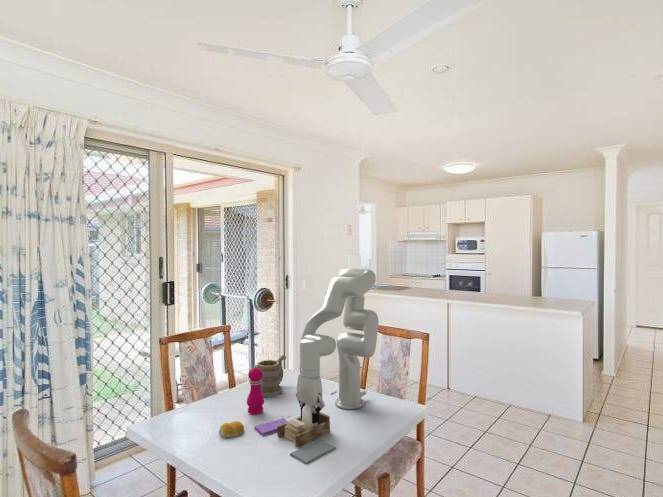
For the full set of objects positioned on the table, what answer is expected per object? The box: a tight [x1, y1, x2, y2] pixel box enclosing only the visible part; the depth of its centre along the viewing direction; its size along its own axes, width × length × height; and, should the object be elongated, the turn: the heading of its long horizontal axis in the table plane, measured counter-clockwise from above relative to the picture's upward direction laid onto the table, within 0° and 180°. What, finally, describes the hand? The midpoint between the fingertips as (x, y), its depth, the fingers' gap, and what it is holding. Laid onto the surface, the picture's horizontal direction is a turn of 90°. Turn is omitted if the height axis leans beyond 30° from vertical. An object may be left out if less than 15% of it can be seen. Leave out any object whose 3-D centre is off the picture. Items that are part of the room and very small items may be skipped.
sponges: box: [254, 417, 288, 437], centre depth 153 cm, size 7×13×2 cm, turn 124°
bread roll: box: [218, 420, 245, 439], centre depth 149 cm, size 8×9×4 cm
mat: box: [289, 438, 337, 465], centre depth 136 cm, size 14×8×1 cm, turn 136°
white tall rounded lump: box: [302, 404, 318, 430], centre depth 150 cm, size 6×12×6 cm
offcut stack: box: [284, 418, 306, 443], centre depth 145 cm, size 5×8×6 cm, turn 46°
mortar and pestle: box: [256, 354, 287, 398], centre depth 193 cm, size 20×13×15 cm, turn 147°
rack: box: [276, 411, 331, 448], centre depth 148 cm, size 16×11×6 cm
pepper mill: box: [246, 364, 265, 416], centre depth 168 cm, size 7×7×20 cm
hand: (310, 419), depth 150 cm, fingers closed on white tall rounded lump, 5 cm apart
